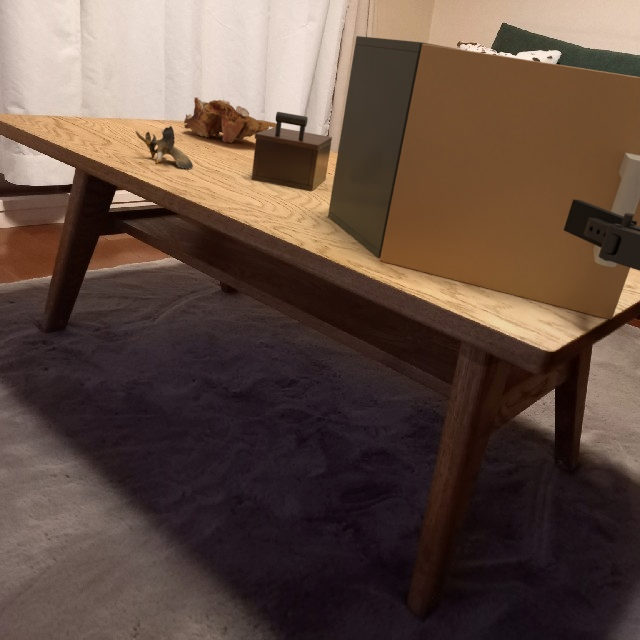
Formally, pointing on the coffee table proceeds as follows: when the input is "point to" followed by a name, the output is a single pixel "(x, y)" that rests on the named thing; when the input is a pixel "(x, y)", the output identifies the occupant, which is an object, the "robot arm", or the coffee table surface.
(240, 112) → the mineral formation
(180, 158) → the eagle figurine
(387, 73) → the cupboard
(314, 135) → the walnut lid
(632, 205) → the cupboard door
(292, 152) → the walnut box
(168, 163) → the coffee table surface
